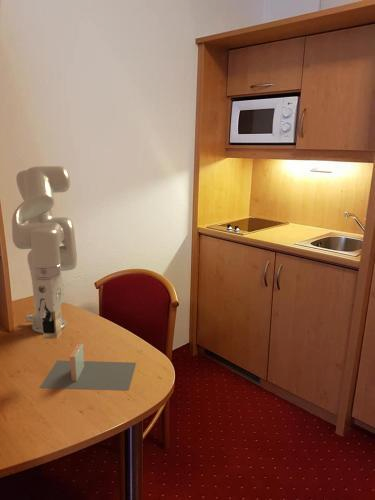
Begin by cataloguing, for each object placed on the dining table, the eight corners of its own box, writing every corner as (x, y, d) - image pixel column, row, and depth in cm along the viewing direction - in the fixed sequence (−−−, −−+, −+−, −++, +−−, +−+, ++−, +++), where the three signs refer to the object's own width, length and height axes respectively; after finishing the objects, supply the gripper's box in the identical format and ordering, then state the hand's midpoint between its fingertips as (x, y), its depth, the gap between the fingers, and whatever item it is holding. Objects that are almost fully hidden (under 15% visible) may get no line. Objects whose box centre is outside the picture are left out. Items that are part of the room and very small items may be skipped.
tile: (71, 380, 119) (69, 356, 117) (79, 366, 127) (77, 343, 125) (76, 380, 119) (75, 356, 117) (84, 366, 127) (82, 343, 125)
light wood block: (43, 338, 118) (40, 303, 115) (48, 332, 122) (45, 298, 119) (57, 338, 118) (54, 304, 115) (61, 332, 122) (58, 298, 119)
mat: (39, 389, 116) (39, 387, 116) (57, 362, 130) (57, 360, 130) (128, 392, 115) (128, 390, 115) (136, 364, 130) (136, 362, 130)
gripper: (49, 280, 106) (54, 342, 111) (69, 262, 123) (73, 317, 127) (21, 279, 107) (28, 342, 111) (45, 262, 123) (49, 317, 127)
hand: (52, 328), depth 119 cm, fingers closed on light wood block, 4 cm apart
